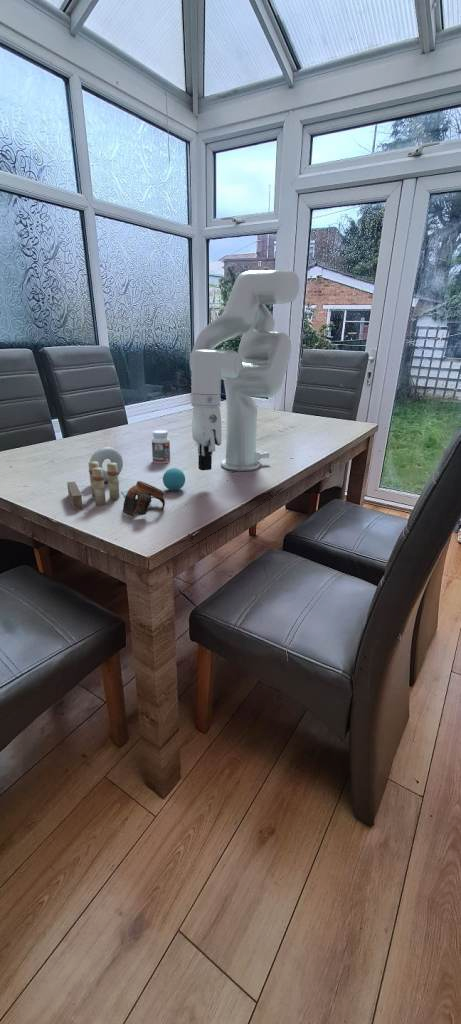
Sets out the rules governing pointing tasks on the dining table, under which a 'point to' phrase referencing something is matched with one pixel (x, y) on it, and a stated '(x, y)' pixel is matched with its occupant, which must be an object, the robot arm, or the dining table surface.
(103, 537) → the dining table surface
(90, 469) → the pin
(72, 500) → the stopper strip
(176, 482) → the ball
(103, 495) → the pin
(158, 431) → the pill bottle
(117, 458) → the donut
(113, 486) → the front pin
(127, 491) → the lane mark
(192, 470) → the dining table surface
